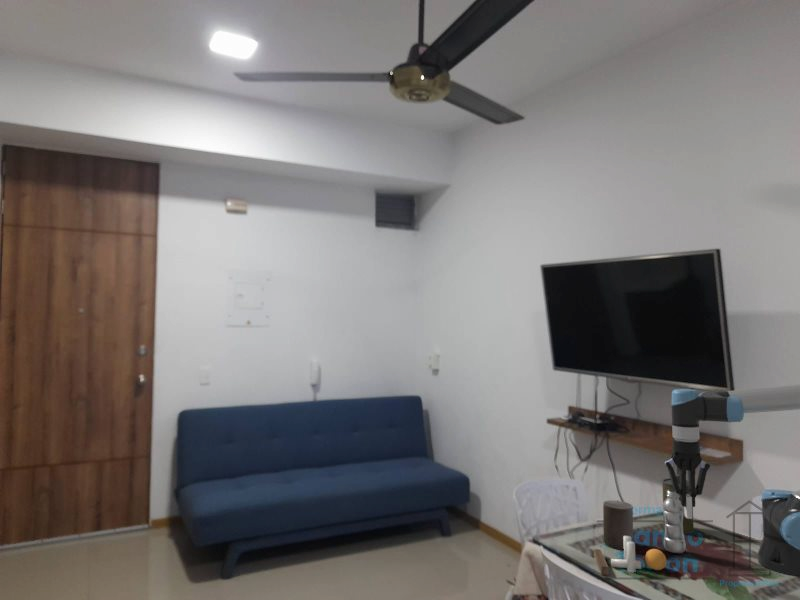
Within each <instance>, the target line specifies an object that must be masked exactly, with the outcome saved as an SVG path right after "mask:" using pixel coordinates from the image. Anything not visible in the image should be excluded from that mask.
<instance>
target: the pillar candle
mask: <svg viewBox="0 0 800 600" xmlns="http://www.w3.org/2000/svg"><path fill="white" fill-rule="evenodd" d="M602 508H603V510H602V513H603V514H602V515H603V518H602V519H603V524H602V525H603V526H602V527H603V544H604V543H605V544H604V546H606V547H608V546H610V547H613V548H612V549H615V548H617V549H616V550H623V549H624V545H623V536H630V537H631V540H632V542H634V514H633V513H634V511H633V509H634V505H632V503H628V502H626V501H622V500H614V499H612V500H605V501H603V507H602ZM610 547H609V548H610Z"/></svg>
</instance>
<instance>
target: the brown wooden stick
mask: <svg viewBox="0 0 800 600" xmlns="http://www.w3.org/2000/svg"><path fill="white" fill-rule="evenodd" d="M593 550H594V551H593V553H594V554H593V555H594V556H595V557H594V556H593V557H594V560H595V559H596V560H595V562H596V564H598V565H597V566H598V570H599V569H600V570H599V571H600V574H602V575H601V576H609V565H608V563H607V561H606V558H605V556H604V554H603V552H602V550H601V549H600V548H599V549H597V548H594V549H593Z"/></svg>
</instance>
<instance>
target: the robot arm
mask: <svg viewBox="0 0 800 600" xmlns="http://www.w3.org/2000/svg"><path fill="white" fill-rule="evenodd" d="M670 406H671V424H672V426H671V428H672V433H671V434H672V438H673V439H672V454H671V456H670V457H671V458H670V459H668V460H664V461H663V464H664V465H665V467H666V468H667V470H668V471H667V472H668V474H669V478H670V479H671V482H672V486H673V489H674V491H675V492H676V493H677V494H680V496H681V505H682V506H683V507H684V515H685V517H686V518H687V519H692V507H693V508H695V507H696V497H697V496H701V495H702V494H703V490H704V487H705V481H706V476H707V472H708V470H709V469H710V468H711V465H710V464H709V463H708V462H706V461H704V460H703V458H702V456H701V442H700V441H699V440H700V439H701V438H700V422H719V423H720V422H723V423H740V422H742V421H743V419H744V415H745V414H754V413H767V412H782V411H795V410H796V411H798V410H800V384H794V385H784V386H773V387H769V386H768V387H759V388H749V389H748V388H747V389H736V390H727V391H725V390H724V391H723V390H722V391H710V390H709V391H703V392H700V393H699V391H698V390H696V389H692V388H691V389H689V388H675V389H673V390H672V391H671V403H670ZM674 464H675V465H676V467H677V468H678V471H679V473H678V474H679V477H680V489H679V486H678V482H677V479H676V475H675V474H676V473H675V469H674V466H675V465H674ZM698 467H699V470H698V476H697V480H696V470H697V468H698ZM687 477H688V479H687ZM686 480H687V481H689V495H687V494H686ZM760 501H761V509H762V510H761V512H762V534H763V536H762V537H763V538H762V540H761V543H760V545H759V546H760V547H759V549H758V551H757V561H758V564H760V565H761V566H763V567H764V566H765V568H766V567H767V568H766V569H768V568H769V570H771V571H774V572H778V573H780V574H781V573H782V574H786V575H791V576H800V490H797V491H793V490H785V489H783V490H782V489H764V490H763V491H762V492H761V500H760Z"/></svg>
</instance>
